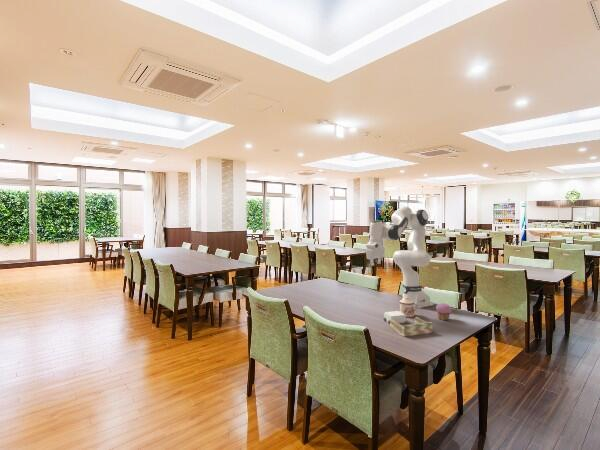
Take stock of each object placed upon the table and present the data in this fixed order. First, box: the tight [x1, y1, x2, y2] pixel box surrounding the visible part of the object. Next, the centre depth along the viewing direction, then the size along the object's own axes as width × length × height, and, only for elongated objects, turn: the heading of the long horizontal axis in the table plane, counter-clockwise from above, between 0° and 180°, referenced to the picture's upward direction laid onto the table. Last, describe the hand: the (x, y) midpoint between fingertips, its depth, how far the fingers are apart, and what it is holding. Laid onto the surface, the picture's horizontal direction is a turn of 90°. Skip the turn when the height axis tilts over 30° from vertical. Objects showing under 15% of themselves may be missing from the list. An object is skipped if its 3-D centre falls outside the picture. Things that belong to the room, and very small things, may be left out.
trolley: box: [383, 310, 407, 325], centre depth 193 cm, size 11×9×5 cm
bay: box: [389, 316, 433, 337], centre depth 177 cm, size 18×14×6 cm
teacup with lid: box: [399, 297, 418, 318], centre depth 204 cm, size 12×9×12 cm
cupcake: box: [435, 302, 453, 321], centre depth 194 cm, size 9×9×10 cm
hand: (375, 264), depth 212 cm, fingers open, 8 cm apart
